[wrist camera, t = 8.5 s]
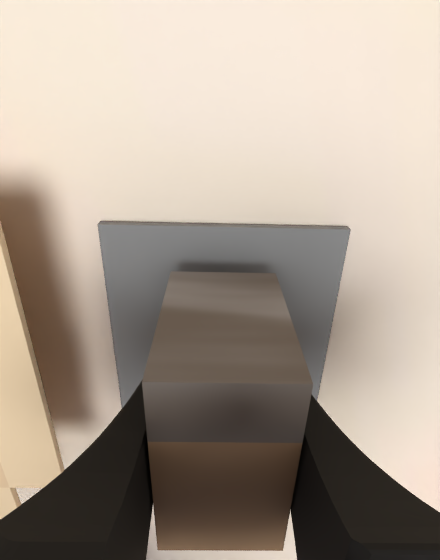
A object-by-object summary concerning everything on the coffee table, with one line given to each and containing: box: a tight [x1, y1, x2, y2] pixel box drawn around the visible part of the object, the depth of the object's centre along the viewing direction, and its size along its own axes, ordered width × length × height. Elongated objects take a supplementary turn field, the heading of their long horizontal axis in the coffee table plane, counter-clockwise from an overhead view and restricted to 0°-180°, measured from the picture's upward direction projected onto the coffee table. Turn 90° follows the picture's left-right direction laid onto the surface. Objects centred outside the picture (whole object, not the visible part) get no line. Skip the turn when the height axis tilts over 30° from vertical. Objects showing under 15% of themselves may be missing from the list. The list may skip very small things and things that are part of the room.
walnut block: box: [142, 271, 313, 551], centre depth 13 cm, size 7×4×6 cm, turn 179°
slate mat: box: [98, 221, 350, 408], centre depth 17 cm, size 10×10×1 cm
